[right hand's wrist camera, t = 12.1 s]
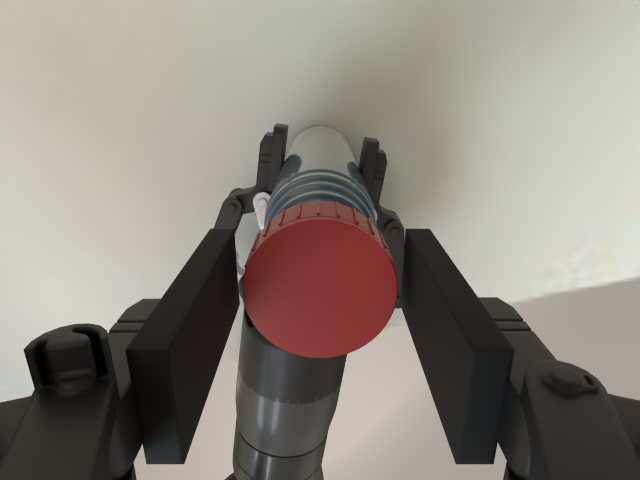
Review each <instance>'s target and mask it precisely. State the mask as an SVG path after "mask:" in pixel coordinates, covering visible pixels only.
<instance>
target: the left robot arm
mask: <svg viewBox="0 0 640 480" xmlns="http://www.w3.org/2000/svg"><path fill="white" fill-rule="evenodd" d="M287 133H288V125H284V124H276V125H275V126H274V131H273V133H270V132H267V133H266V134H265V136H264V138H263V139H262V141H261V143H260V152H259V162H258V173H257V183H256V185H255V186H254V187H251V188H247V189H241V188H236V189H234V190H232V192H231V193H230V194H229V197H228V198H227V199H226V200H225V201H224V202H223V204H222V207H221V210H220V213H219V215H218V218H217V221H216V224H215V226H214V229H234V234H235V233H236V231H237V228H238V225H239V223H240V220H241V217H242V215H243V214H245V213H250V212H255V214H256V218H257V222H258V226H259V230H260V233H261V232H262V230H263V229H264V216H265V210H266V207H267V204H268V201H269V199H270V196H271V194H272V191H273V189H274V186H275V184H276V181H277V179H278V176H279V174H280V171H281V169H282V166H283V164H284V158H285V150H286V142H287ZM386 165H387V160H386V154H385V153H384V151H383V150H380V149H379V142H378V140H377V139H374V138H367V137H365V138H364V141H363V146H362V152H361V157H360V163H359V171H360V173H361V176H362V178H363V181H364V183H365V186H366V188H367V191H368V193H369V196H370V198H371V201H372V203H373V206H374V209H375V215H376V228H377V230H378V231H381V233H382V235H383V238H384V240H385V243H386V246H387V245H388V248H389V250H390V253H391V255H392V258H393V260H394V263H395V265H393V266H394V269H395V273H396V277H397V280H398V282H397V284H398V293H397V300H396V304H395V308H401V305H400V301H401V288H402V274H403V261H404V247H405V239H404V227H403V226H402V224H401V222H400V220H399V218H398V216H397V214H396V213H395V212H393V211H391V210H387V209H385V208H383V207H381V206H380V205H379V200H380V195H381V190H382V185H383V179H384V175H385V170H386ZM238 258H239V255H238V252H237V251H236V261H237V274H238V288H239V293H240V295H241V297H242V300H243V303H244V298H243V279H244V273H245V270H246V269H245V270H244V269H242V268H241V267H240V266H239V264H238ZM346 357H347V354H344V355H340V356H335V357H329V358H311V357H305V356H300V355H296V354H293V353H290V352H288V351H285V350H283V349H281V348H279V347H278V346H276V345H274V344H273V343H272V342H270V341H269V340H267V339H266V338H265V337H264V336H263V335H262V334H261V333H260V332H259V330H258V329H257V328H256V327H255V325H254V324H253V322H252V321H251V319H250V317H249V315H248V312H247V310H246V307H245V303H244V313H243V324H242V334H241V344H240V354H239V364H238V375H237V384H236V410H237V419H236V429H235V438H234V449H233V468H234V473H232V474H231V475H229V476H228V477H227V478H226V479H225V480H324V479H323V472H322V467H321V464H322V458H323V454H324V449H325V444H326V439H327V434H328V429H329V426H330V423H331V421H332V418H333V415H334V412H335V410H336V406H337V401H338V396H339V391H340V387H341V382H342V377H343V372H344V367H345V362H346Z"/></svg>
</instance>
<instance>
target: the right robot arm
mask: <svg viewBox="0 0 640 480" xmlns="http://www.w3.org/2000/svg"><path fill="white" fill-rule="evenodd" d="M239 305H240V301H239V288H238V274H237V261H236V247H235V234H234V229H210V230H209V232H208V233H207V235H206V236H205V237H204V239H203V240H202V242H201V243H200V244H199V246H198V247H197V249H196V250H195V252H194V253H193V254H192V256H191V257H190V259H189V260H188V262H187V263H186V264H185V266H184V267H183V269H182V270H181V271H180V273H179V274H178V276H177V277H176V279H175V280H174V281H173V283H172V284H171V286H170V287H169V289H168V290H167V291H166V293H165V294H164V296H163V297H162V298H161V299H142V300H141V301H139V302H137V303H136V304H134V305H132V306H131V307H129V308H128V309H126V311H125V312H124V313H123V314H122V316H121V317H120V318H119V319H118V320H117V323H115V324H114V325H113V327H112V328H111V329H110V330H109V333H107V330H105V329H104V328H103V327H101V326H99V325H94V324H73V325H69V326H64V327H60V328H57V329H54V330H52V331H49V332H47V333H44V334H42V335H41V336H39V337H38V338H36V339H34V340H33V341H31V342H30V343H29V345H28V346H27V347H26V348H25V349H24V353H25V356H26V360H27V363H28V367H29V370H30V374H31V377H32V381H33V384H34V388H35V390H34V392H33V394H32V396H29V397H25V398H20V399H16V400H11V401H6V402H1V403H0V480H136V474H135V468H134V463H133V462H134V460H135V458H136V456H137V454H138V452H139V450H140V448H141V445H142V443H143V448H144V453H145V458H146V464H184V463H185V460H186V457H187V454H188V451H189V448H190V445H191V443H192V440H193V437H194V434H195V431H196V428H197V425H198V423H199V420H200V417H201V414H202V411H203V408H204V405H205V402H206V400H207V396H208V394H209V391H210V388H211V385H212V382H213V379H214V377H215V374H216V371H217V368H218V365H219V362H220V359H221V356H222V354H223V351H224V348H225V345H226V342H227V339H228V336H229V333H230V331H231V328H232V325H233V322H234V319H235V316H236V313H237V310H238V308H239ZM400 305H401V308H402V310H403V313H404V316H405V319H406V322H407V325H408V328H409V331H410V333H411V336H412V339H413V342H414V345H415V348H416V351H417V354H418V356H419V359H420V362H421V365H422V368H423V371H424V374H425V376H426V379H427V382H428V385H429V388H430V391H431V394H432V397H433V400H434V402H435V405H436V408H437V411H438V414H439V417H440V420H441V423H442V425H443V428H444V431H445V434H446V437H447V440H448V443H449V445H450V448H451V451H452V454H453V457H454V460H455V463H456V464H494V458H495V453H496V448H497V442H498V443H499V445H500V447H501V449H502V452H503V454H504V456H505V458H506V460H507V463H506V468H505V473H504V478H503V480H640V401H639V400H634V399H629V398H624V397H619V396H615V395H611V394H608V393H607V391H606V389H605V387H604V386H603V385H602V384H601V382H600V381H599V380H598V379H597V378H596V377H594V376H593V375H592V374H590V373H589V372H587V371H586V370H584V369H581V368H579V367H577V366H575V365H573V364H569V363H565V362H561V361H557V360H556V359H555V357H554V356H553V355H552V354H551V353H550V351H549V350H548V349H547V348H546V346H545V345H544V344H543V343H542V342H541V340H540V339H539V338H538V337H537V336H536V334H535V333H534V332H533V331H531V328H530V327H529V326H528V325H527V323H526V322H523V319H522V317H521V316H520V315H519V314H518V313H517V311H516V310H515V309H514V308H513V307H512V306H510V305H508V304H507V303H505V302H504V301H502V300H500V299H499V298H497V297H477V296H476V294H475V293H474V291H473V290H472V289H471V287H470V286H469V284H468V283H467V281H466V280H465V279H464V277H463V276H462V274H461V273H460V271H459V270H458V269H457V267H456V266H455V264H454V263H453V262H452V260H451V259H450V257H449V256H448V254H447V253H446V252H445V250H444V249H443V247H442V246H441V244H440V243H439V242H438V240H437V239H436V237H435V236H434V235H433V233H432V232H431V230H430V229H406V234H405V247H404V261H403V274H402V288H401V301H400Z"/></svg>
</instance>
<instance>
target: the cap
mask: <svg viewBox="0 0 640 480" xmlns="http://www.w3.org/2000/svg"><path fill="white" fill-rule="evenodd" d="M393 265H395V263H394V260H393V258H392V255H391V253H390V250H389V248H388V245H387V246H386V243H385V240H384V238H383V235H382V233H381V231H378V230H377V228H376V227H375V226H374V225H373V224H372V222H371V220H370V218H369V217H368V218H366V217H365V216H364V215H362V214H361V213H359V212H358V211H356V209H355V208H353V209H352V208H350V207H348V206H345V205H342V204H339V203H338V202H336V203H333V202H325V201H320V200H317V201H315V202H307V203H301V202H300V203H299V205H296V206H293V207H290V208H288V209H286V210H285V209H283V210H282V212H281V213H280V214H278V215H277V216H275V217H274V218H273V219H272V220H270V219H269V220H268V222H267V225H266V226H265V227H264V229H263V230H262V232H261V233H258V235H257V237H256V240H255V242H254V245H253V247H252V249H251V251H250V254H249V257H248V259H247V262H246V264H245V268H246V270H245V273H244V279H243V298H244V303H245V307H246V310H247V312H248V315H249V317H250V319H251V321H252V322H253V324H254V325H255V327H256V328H257V329H258V330H259V332H260V333H261V334H262V335H263V336H264V337H265V338H266V339H267V340H269V341H270V342H272V343H273V344H274V345H276V346H278V347H279V348H281V349H283V350H285V351H288V352H290V353H293V354H296V355H300V356H305V357H311V358H329V357H335V356H340V355H344V354H348V353H350V352H352V351H355V350H357V349H359V348H361V347H363V346H364V345H366V344H367V343H369V342H370V341H372V340H373V339H374V338H375V337H376V336H377V335H378V334H379V333H380V332H381V331H382V330H383V328H384V327H385V326H386V324H387V323H388V321H389V319H390V317H391V315H392V313H393V311H394V308H395V304H396V300H397V293H398V284H397V282H398V280H397V277H396V273H395V269H394V266H393Z"/></svg>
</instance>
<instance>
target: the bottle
mask: <svg viewBox="0 0 640 480" xmlns="http://www.w3.org/2000/svg"><path fill="white" fill-rule="evenodd" d="M317 200H320V201H325V202H333V203H336V202H338V203H339V204H342V205H345V206H348V207H350V208H352V209H353V208H355V209H356V211H358V212H359V213H361V214H362V215H364V216H365V217H366V218H368V217H369V218H370V220H371V222H372V224H373V225H374V226H375V227H376V215H375V209H374V206H373V203H372V201H371V198H370V196H369V193H368V191H367V188H366V186H365V183H364V181H363V178H362V176H361V173H360V171H359V168H358V166H357V164H356V161H355V159H354V156H353V154H352V151H351V149H350V146H349V144H348V142H347V140H346V139H345V138H344V136H343V135H342V134H341V133H339V132H338V131H337V130H335V129H333V128H330V127H326V126H314V127H310V128H307V129H305V130H304V131H302V132H301V133H300V134H298V135H297V137H296V138H295V139H294V141H293V142H292V144H291V146H290V149H289V151H288V154H287V156H286V159H285V161H284V164H283V166H282V169H281V171H280V174H279V176H278V179H277V181H276V184H275V186H274V189H273V191H272V194H271V196H270V199H269V201H268V204H267V207H266V210H265V216H264V227H265V226H266V225H267V222H268V220H269V219H270V220H272V219H273V218H274V217H275V216H277V215H278V214H280V213H281V212H282V210H283V209H285V210H286V209H288V208H290V207H293V206H296V205H299V203H300V202H301V203H307V202H315V201H317Z"/></svg>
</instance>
